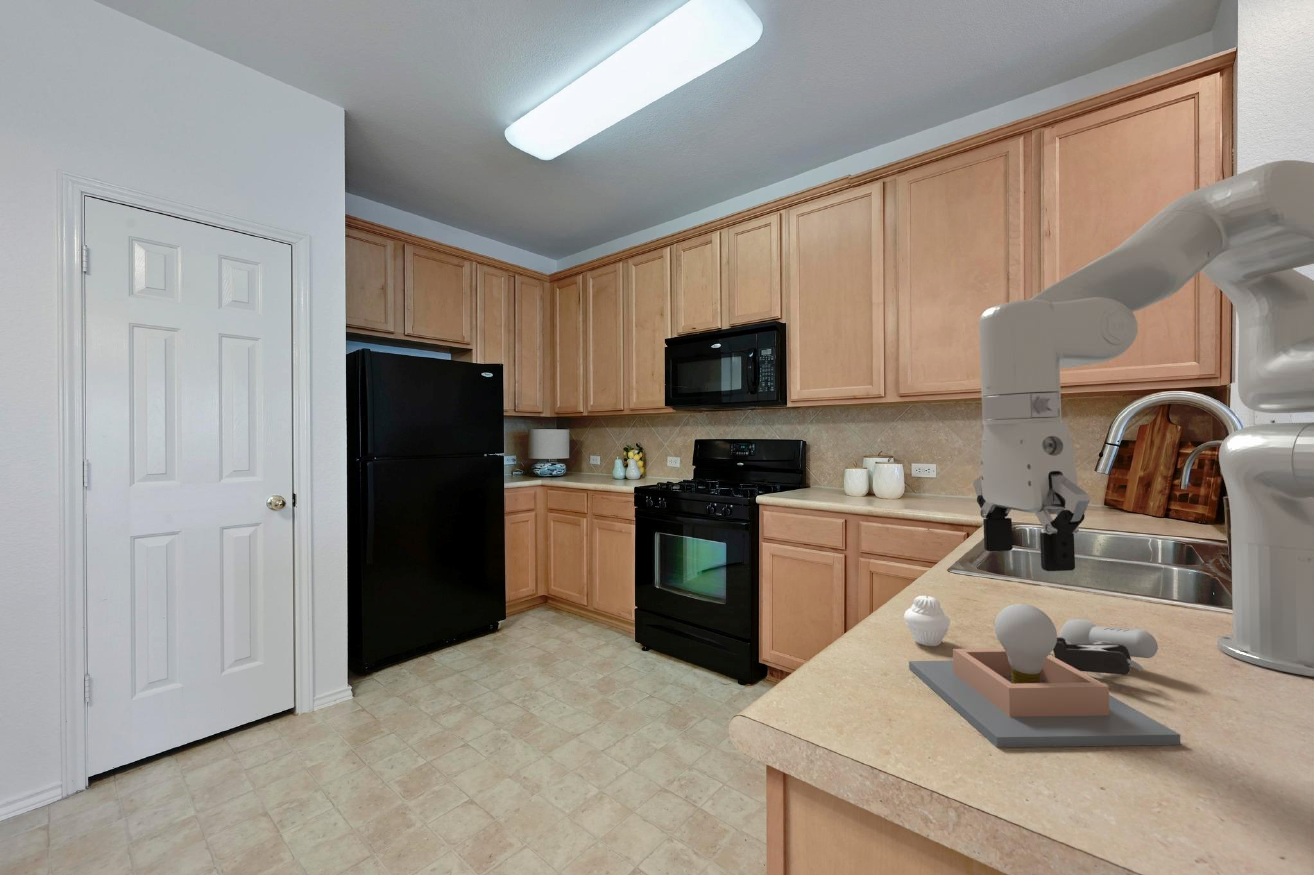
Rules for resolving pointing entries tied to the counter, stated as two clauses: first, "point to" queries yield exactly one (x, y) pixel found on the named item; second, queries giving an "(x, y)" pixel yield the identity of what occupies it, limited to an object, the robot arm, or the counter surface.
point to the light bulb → (1025, 640)
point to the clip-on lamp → (1102, 647)
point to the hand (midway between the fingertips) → (1026, 559)
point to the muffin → (927, 621)
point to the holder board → (1037, 703)
